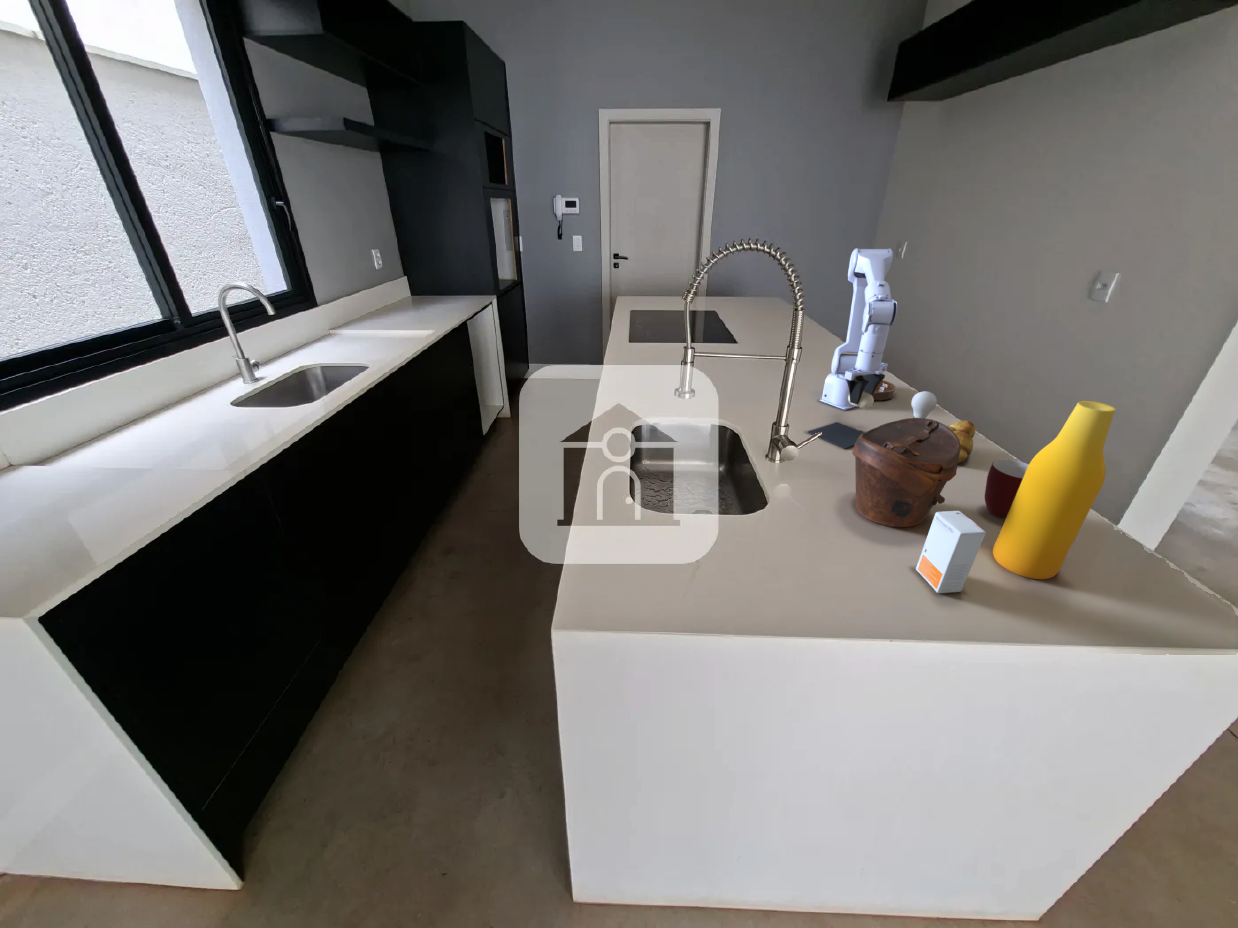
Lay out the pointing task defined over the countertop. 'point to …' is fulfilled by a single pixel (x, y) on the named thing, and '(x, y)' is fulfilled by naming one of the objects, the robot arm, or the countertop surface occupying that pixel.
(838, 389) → the robot arm
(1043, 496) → the beer bottle
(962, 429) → the bread roll
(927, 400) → the light bulb
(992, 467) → the mug
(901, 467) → the case
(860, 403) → the white grooved oval
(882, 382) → the bowl
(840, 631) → the countertop surface
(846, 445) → the mat
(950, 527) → the cosmetic box
